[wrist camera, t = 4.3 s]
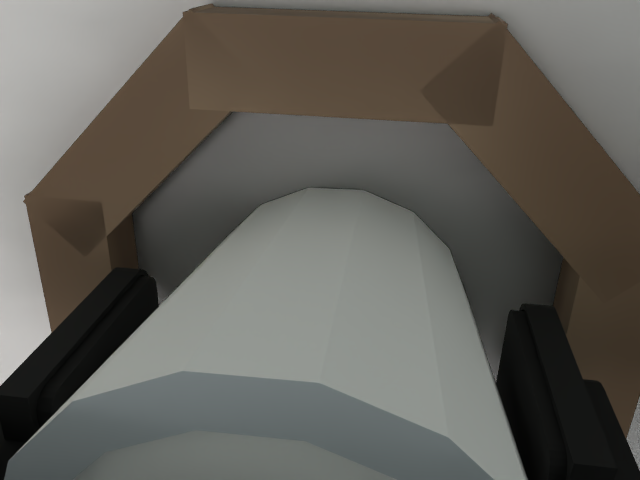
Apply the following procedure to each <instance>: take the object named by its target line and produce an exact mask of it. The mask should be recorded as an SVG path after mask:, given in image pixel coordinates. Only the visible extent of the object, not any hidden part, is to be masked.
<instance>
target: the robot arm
mask: <svg viewBox="0 0 640 480" xmlns="http://www.w3.org/2000/svg"><path fill="white" fill-rule="evenodd" d="M158 307H159V305H158V295H157V286H156V281H155V279H154V278H153V277H148V274H147V272H146V271H145V270H143V269H132V268H121V267H116V268H114V269H113V270H112V271H111V272H110V273H109V274H108V275H107V276H106V277H105V278H104V279H103V280H102V281H101V282H100V283H99V284H98V285H97V286H96V287H95V289H94V290H93V291H92V292H91V293H90V294H89V295H88V296H87V297H86V298H85V299H84V300H83V301H82V302H81V303H80V304H79V305H78V306H77V307H76V308H75V309H74V310H73V311H72V312H71V313H70V314H69V315H68V317H67V318H66V319H65V320H64V321H63V322H62V323H61V324H60V325H59V326H58V327H57V328H56V329H55V330H54V331H53V332H52V333H51V334H50V335H49V336H48V337H47V338H46V339H45V340H44V341H43V342H42V343H41V344H40V346H39V347H38V348H37V349H36V350H35V351H34V352H33V353H32V354H31V355H30V356H29V357H28V358H27V359H26V360H25V361H24V362H23V363H22V364H21V365H20V366H19V367H18V368H17V369H16V370H15V371H14V372H13V373H12V375H11V376H10V377H9V378H8V379H7V380H6V381H5V382H4V383H3V384H2V385H1V386H0V480H4V478H5V474H6V469H7V465H8V461H9V460H10V459H11V458H12V457H13V456H14V455H15V454H16V453H17V452H18V451H19V449H20V448H21V447H22V446H23V445H24V444H25V443H26V442H27V441H28V440H29V439H30V438H31V437H32V436H33V435H34V434H35V433H36V432H37V431H38V430H39V429H40V428H41V427H42V426H43V425H44V424H45V423H46V422H47V421H48V420H49V419H50V418H51V417H52V416H53V415H54V414H55V413H56V412H57V411H58V410H59V408H60V407H61V406H62V405H63V404H64V403H65V402H66V401H67V400H68V399H69V398H70V397H71V396H72V395H73V394H74V393H75V392H76V391H77V390H78V389H79V388H80V387H81V386H82V385H83V384H84V383H85V382H86V381H87V380H88V379H89V378H90V377H91V376H92V375H93V374H94V373H95V372H96V371H97V370H98V369H99V367H100V366H101V365H102V364H103V363H104V362H105V361H106V360H107V359H108V358H109V357H110V356H111V355H112V354H113V353H114V352H115V351H116V350H117V349H118V348H119V347H120V346H121V345H122V344H123V343H124V342H125V341H126V340H127V339H128V338H129V337H130V336H131V335H132V334H133V333H134V332H135V331H136V330H137V329H138V328H139V326H140V325H141V324H142V323H143V322H144V321H145V320H146V319H147V318H148V317H149V316H150V315H151V314H152V313H153V312H154V311H155V310H156V309H157V308H158ZM496 385H497V388H498V391H499V394H500V397H501V400H502V403H503V406H504V409H505V412H506V415H507V418H508V421H509V424H510V427H511V430H512V433H513V436H514V439H515V442H516V445H517V448H518V451H519V454H520V457H521V460H522V463H523V466H524V469H525V472H526V475H527V478H528V480H640V471H639V468H638V466H637V464H636V461H635V459H634V457H633V454H632V452H631V450H630V447H629V445H628V443H627V440H626V438H625V436H624V433H623V431H622V429H621V426H620V424H619V422H618V419H617V417H616V415H615V412H614V410H613V408H612V405H611V403H610V401H609V398H608V396H607V394H606V391H605V389H604V387H603V386H602V384H601V383H600V382H599V381H597V380H587V379H583V378H582V376H581V373H580V370H579V368H578V365H577V363H576V360H575V358H574V355H573V352H572V350H571V347H570V345H569V342H568V340H567V337H566V334H565V332H564V329H563V327H562V324H561V322H560V319H559V316H558V314H557V311H556V309H555V307H553V306H545V305H534V304H522V305H521V307H520V310H519V311H516V310H511V311H510V312H509V316H508V320H507V326H506V332H505V337H504V343H503V348H502V354H501V359H500V365H499V370H498V376H497V382H496Z"/></svg>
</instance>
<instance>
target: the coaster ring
mask: <svg viewBox="0 0 640 480" xmlns="http://www.w3.org/2000/svg"><path fill="white" fill-rule="evenodd" d="M507 25H508V24H507V23H506V22H505V21H503V20H502V19H501V18H499V17H495V16H494V15H493V14H492V13H491V14H490V15H489V16H462V15H433V14H405V13H377V12H349V11H320V10H292V9H264V8H236V7H215V6H214V5H213V4H208V5H204V6H200V7H196V8H192V9H189V11H185V12H183V17H182V19H181V20H180V21H179V22H178V23H177V24H176V26H175V27H174V28H173V29H172V30H171V31H170V32H169V34H168V35H167V36H166V37H165V38H164V39H163V41H162V42H161V43H160V44H159V45H158V46H157V47H156V49H155V50H154V51H153V52H152V53H151V54H150V56H149V57H148V58H147V59H146V60H145V61H144V62H143V64H142V65H141V66H140V67H139V68H138V69H137V71H136V72H135V73H134V74H133V75H132V76H131V77H130V79H129V80H128V81H127V82H126V83H125V84H124V86H123V87H122V88H121V89H120V90H119V91H118V92H117V94H116V95H115V96H114V97H113V98H112V99H111V101H110V102H109V103H108V104H107V105H106V106H105V108H104V109H103V110H102V111H101V112H100V113H99V114H98V116H97V117H96V118H95V119H94V120H93V121H92V123H91V124H90V125H89V126H88V127H87V128H86V129H85V131H84V132H83V133H82V134H81V135H80V136H79V138H78V139H77V140H76V141H75V142H74V143H73V144H72V146H71V147H70V148H69V149H68V150H67V151H66V153H65V154H64V155H63V156H62V157H61V158H60V159H59V161H58V162H57V163H56V164H55V165H54V166H53V168H52V169H51V170H50V171H49V172H48V173H47V174H46V176H45V177H44V178H43V179H42V180H41V181H40V183H39V184H38V185H37V186H36V187H35V188H34V189H33V191H31V192H30V193H28V194H26V195H25V196H24V197H25V200H24V201H23V202H24V203H25V204H26V207H27V212H28V217H29V222H30V227H31V232H32V237H33V242H34V247H35V252H36V257H37V262H38V267H39V272H40V277H41V282H42V287H43V292H44V297H45V302H46V307H47V312H48V317H49V322H50V327H51V332H53V331H54V330H55V329H56V328H57V327H58V326H59V325H60V324H61V323H62V322H63V321H64V320H65V319H66V318H67V317H68V315H69V314H70V313H71V312H72V311H73V310H74V309H75V308H76V307H77V306H78V305H79V304H80V303H81V302H82V301H83V300H84V299H85V298H86V297H87V296H88V295H89V294H90V293H91V292H92V291H93V290H94V289H95V287H96V286H97V285H98V284H99V283H100V282H101V281H102V280H103V279H104V278H105V277H106V276H107V275H108V274H109V273H110V272H111V271H112V270H113V269H114V268H116V267H121V268H132V269H139V267H138V259H137V251H136V242H135V234H134V226H133V217H132V213H133V212H134V211H135V210H136V209H137V208H138V207H139V206H140V205H141V204H142V203H143V202H144V201H145V200H146V199H147V198H148V197H149V196H150V195H151V194H152V193H153V192H154V191H155V190H156V189H157V188H158V187H159V186H160V185H161V184H162V183H163V182H164V181H165V180H166V179H167V178H168V177H169V176H170V174H171V173H172V172H173V171H174V170H175V169H176V168H177V167H178V166H179V165H180V164H181V163H182V162H183V161H184V160H185V159H186V158H187V157H188V156H189V155H190V154H191V153H192V152H193V151H194V150H195V149H196V148H197V147H198V146H199V145H200V144H201V143H202V142H203V141H204V140H205V139H206V138H207V137H208V136H209V135H210V134H211V133H212V132H213V131H214V130H215V129H216V128H217V127H218V126H219V125H220V124H221V123H222V122H223V121H224V120H225V119H226V118H227V117H228V116H229V115H230V114H231V113H232V112H233V111H234V112H252V113H269V114H287V115H305V116H322V117H340V118H358V119H375V120H393V121H411V122H428V123H446V124H448V125H449V126H450V127H451V128H452V129H453V130H454V131H455V133H456V134H457V135H458V136H459V137H460V138H461V140H462V141H463V142H464V143H465V144H466V145H467V146H468V148H469V149H470V150H471V151H472V152H473V153H474V155H475V156H476V157H477V158H478V159H479V160H480V161H481V163H482V164H483V165H484V166H485V167H486V168H487V170H488V171H489V172H490V173H491V174H492V175H493V176H494V178H495V179H496V180H497V181H498V182H499V183H500V185H501V186H502V187H503V188H504V189H505V190H506V191H507V193H508V194H509V195H510V196H511V197H512V198H513V200H514V201H515V202H516V203H517V204H518V205H519V206H520V208H521V209H522V210H523V211H524V212H525V213H526V215H527V216H528V217H529V218H530V219H531V220H532V222H533V223H534V224H535V225H536V226H537V227H538V228H539V230H540V231H541V232H542V233H543V234H544V235H545V237H546V238H547V239H548V240H549V241H550V242H551V243H552V245H553V246H554V247H555V248H556V249H557V250H558V252H559V253H560V254H561V255H562V256H563V261H562V266H561V270H560V275H559V280H558V284H557V289H556V294H555V298H554V303H553V307H555V309H556V311H557V314H558V316H559V319H560V322H561V324H562V327H563V329H564V332H565V334H566V337H567V340H568V342H569V345H570V347H571V350H572V352H573V355H574V358H575V360H576V363H577V365H578V368H579V370H580V373H581V376H582V378H583V379H587V380H597V381H599V382H600V383H601V384H602V386H603V387H604V389H605V391H606V394H607V396H608V398H609V401H610V403H611V405H612V408H613V410H614V412H615V415H616V417H617V419H618V422H619V424H620V426H621V429H622V431H623V433H624V436H625V438H627V435H628V432H629V428H630V425H631V422H632V419H633V415H634V412H635V409H636V406H637V403H638V399H639V396H640V194H639V193H638V192H637V191H636V189H635V188H634V187H633V186H632V184H631V183H630V182H629V181H628V179H627V178H626V177H625V176H624V174H623V173H622V172H621V171H620V169H619V168H618V167H617V166H616V164H615V163H614V162H613V161H612V159H611V158H610V157H609V156H608V154H607V153H606V152H605V151H604V149H603V148H602V147H601V146H600V144H599V143H598V142H597V141H596V139H595V138H594V137H593V136H592V134H591V133H590V132H589V131H588V129H587V128H586V127H585V126H584V124H583V123H582V122H581V121H580V119H579V118H578V117H577V116H576V114H575V113H574V112H573V111H572V109H571V108H570V107H569V106H568V104H567V103H566V102H565V101H564V99H563V98H562V97H561V96H560V94H559V93H558V92H557V91H556V89H555V88H554V87H553V86H552V84H551V83H550V82H549V81H548V79H547V78H546V77H545V76H544V74H543V73H542V72H541V71H540V69H539V68H538V67H537V66H536V64H535V63H534V62H533V61H532V59H531V58H530V57H529V56H528V54H527V53H526V52H525V51H524V50H523V48H522V47H521V46H520V45H519V43H518V42H517V41H516V40H515V38H514V37H513V36H512V35H511V33H510V32H509V31H508V30H507Z"/></svg>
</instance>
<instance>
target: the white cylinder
mask: <svg viewBox="0 0 640 480" xmlns="http://www.w3.org/2000/svg"><path fill="white" fill-rule="evenodd" d="M4 480H528V478H527V475H526V472H525V469H524V466H523V463H522V460H521V457H520V454H519V451H518V448H517V445H516V442H515V439H514V436H513V433H512V430H511V427H510V424H509V421H508V418H507V415H506V412H505V409H504V406H503V403H502V400H501V397H500V394H499V391H498V388H497V385H496V382H495V379H494V376H493V373H492V371H491V368H490V365H489V362H488V359H487V356H486V353H485V350H484V347H483V344H482V341H481V338H480V335H479V332H478V329H477V326H476V323H475V320H474V317H473V314H472V311H471V308H470V305H469V302H468V299H467V296H466V293H465V290H464V287H463V284H462V282H461V279H460V276H459V274H458V271H457V268H456V265H455V263H454V260H453V257H452V254H451V252H450V249H449V248H448V247H447V246H446V245H445V244H444V243H443V242H442V241H441V240H440V239H439V238H438V237H437V236H436V235H435V234H434V233H433V232H432V231H431V230H430V229H429V228H428V226H427V225H426V224H425V223H424V222H423V221H422V220H421V219H420V218H419V217H418V216H417V215H416V214H415V213H414V212H412V211H410V210H408V209H405V208H403V207H401V206H399V205H396V204H394V203H392V202H389V201H387V200H385V199H383V198H380V197H378V196H376V195H373V194H371V193H369V192H367V191H364V190H352V189H329V188H306V189H304V190H301V191H298V192H295V193H292V194H289V195H287V196H284V197H281V198H278V199H275V200H272V201H270V202H267V203H264V204H261V205H260V206H259V207H258V208H257V209H256V210H255V211H254V212H253V213H251V214H250V215H249V216H248V217H247V218H246V219H245V220H244V221H243V222H242V223H241V224H240V225H239V226H238V227H237V228H236V229H235V230H234V231H233V232H232V233H230V234H229V235H228V236H227V237H226V238H225V239H224V240H223V241H222V242H221V243H220V244H219V246H218V247H217V248H216V249H215V250H214V251H213V252H212V253H211V254H210V255H209V256H208V257H207V258H206V259H205V260H204V261H203V262H202V263H201V264H200V265H199V266H198V267H197V268H196V269H195V270H194V271H193V272H192V273H191V274H190V275H189V276H188V277H187V278H186V279H185V280H184V281H183V282H182V283H181V284H180V285H179V287H178V288H177V289H176V290H175V291H174V292H173V293H172V294H171V295H170V296H169V297H168V298H167V299H166V300H165V301H164V302H163V303H162V304H161V305H160V306H159V307H158V308H157V309H156V310H155V311H154V312H153V313H152V314H151V315H150V316H149V317H148V318H147V319H146V320H145V321H144V322H143V323H142V324H141V325H140V326H139V328H138V329H137V330H136V331H135V332H134V333H133V334H132V335H131V336H130V337H129V338H128V339H127V340H126V341H125V342H124V343H123V344H122V345H121V346H120V347H119V348H118V349H117V350H116V351H115V352H114V353H113V354H112V355H111V356H110V357H109V358H108V359H107V360H106V361H105V362H104V363H103V364H102V365H101V366H100V367H99V369H98V370H97V371H96V372H95V373H94V374H93V375H92V376H91V377H90V378H89V379H88V380H87V381H86V382H85V383H84V384H83V385H82V386H81V387H80V388H79V389H78V390H77V391H76V392H75V393H74V394H73V395H72V396H71V397H70V398H69V399H68V400H67V401H66V402H65V403H64V404H63V405H62V406H61V407H60V408H59V410H58V411H57V412H56V413H55V414H54V415H53V416H52V417H51V418H50V419H49V420H48V421H47V422H46V423H45V424H44V425H43V426H42V427H41V428H40V429H39V430H38V431H37V432H36V433H35V434H34V435H33V436H32V437H31V438H30V439H29V440H28V441H27V442H26V443H25V444H24V445H23V446H22V447H21V448H20V449H19V451H18V452H17V453H16V454H15V455H14V456H13V457H12V458H11V459H10V460H9V461H8V465H7V469H6V474H5V478H4Z"/></svg>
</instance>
